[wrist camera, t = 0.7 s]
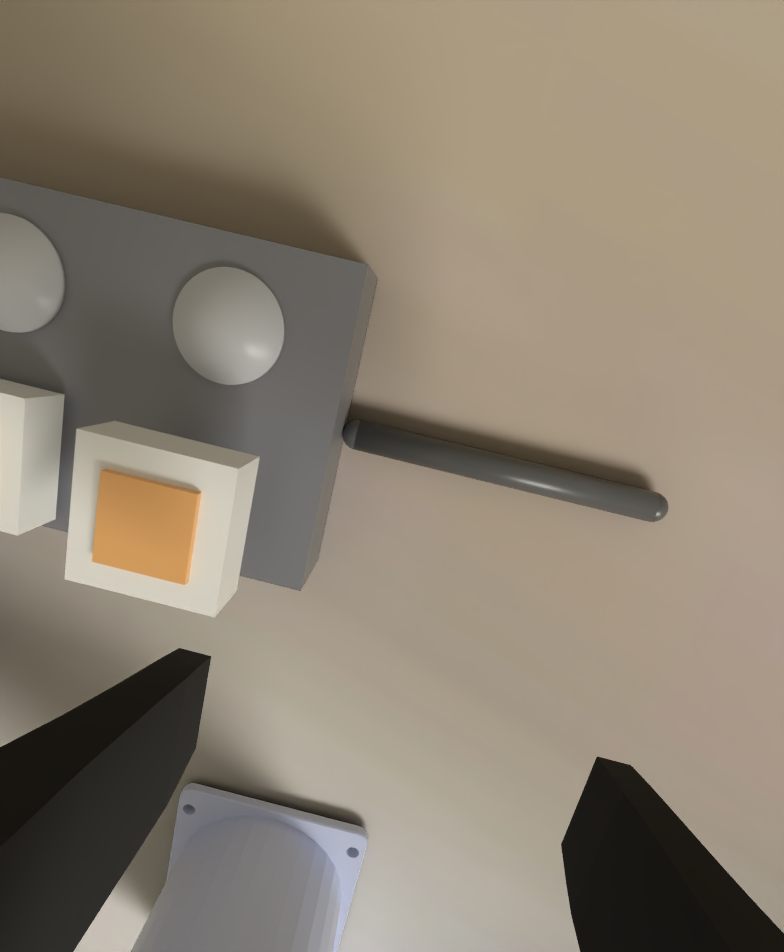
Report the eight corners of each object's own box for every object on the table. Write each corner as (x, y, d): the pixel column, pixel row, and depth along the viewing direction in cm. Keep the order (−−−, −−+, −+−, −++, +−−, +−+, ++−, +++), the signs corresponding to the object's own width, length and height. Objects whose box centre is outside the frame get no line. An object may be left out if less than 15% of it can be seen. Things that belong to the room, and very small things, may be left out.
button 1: (236, 590, 14) (211, 621, 13) (101, 556, 14) (59, 582, 13) (260, 456, 13) (235, 470, 12) (114, 421, 13) (70, 429, 12)
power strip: (610, 633, 18) (640, 679, 16) (-198, 431, 19) (-298, 443, 16) (715, 358, 16) (771, 359, 13) (-214, 137, 17) (-335, 96, 14)
